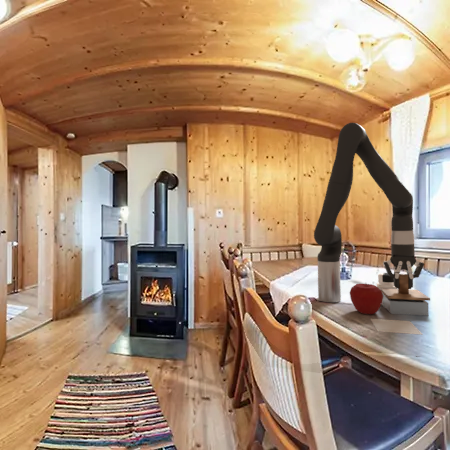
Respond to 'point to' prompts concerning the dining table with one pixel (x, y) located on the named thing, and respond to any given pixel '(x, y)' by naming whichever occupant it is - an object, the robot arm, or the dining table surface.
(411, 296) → the lid
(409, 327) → the mat
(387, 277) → the medicine bottle
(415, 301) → the grey open box
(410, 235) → the robot arm
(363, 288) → the apple
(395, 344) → the dining table surface
